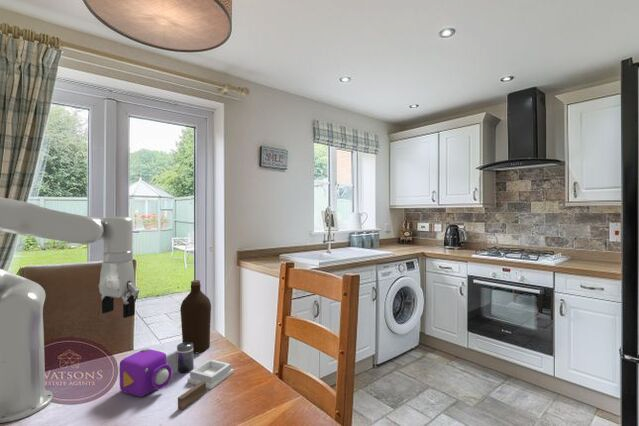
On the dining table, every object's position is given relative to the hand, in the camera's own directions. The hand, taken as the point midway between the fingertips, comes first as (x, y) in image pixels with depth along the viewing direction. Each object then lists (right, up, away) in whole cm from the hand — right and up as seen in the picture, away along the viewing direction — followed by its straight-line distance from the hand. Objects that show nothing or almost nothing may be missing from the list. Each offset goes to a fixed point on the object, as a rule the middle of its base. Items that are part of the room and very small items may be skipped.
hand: (118, 314), depth 96 cm
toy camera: (+11, -21, -4) cm, 24 cm away
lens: (+18, -20, +6) cm, 27 cm away
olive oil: (+15, -20, +22) cm, 33 cm away
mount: (+28, -20, +2) cm, 34 cm away
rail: (+27, -20, -10) cm, 35 cm away
